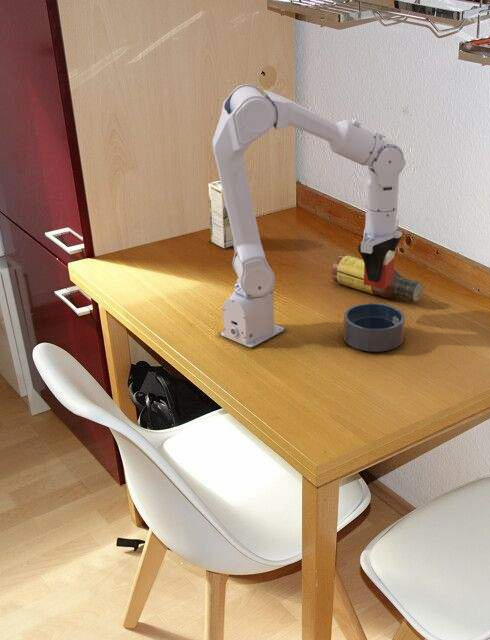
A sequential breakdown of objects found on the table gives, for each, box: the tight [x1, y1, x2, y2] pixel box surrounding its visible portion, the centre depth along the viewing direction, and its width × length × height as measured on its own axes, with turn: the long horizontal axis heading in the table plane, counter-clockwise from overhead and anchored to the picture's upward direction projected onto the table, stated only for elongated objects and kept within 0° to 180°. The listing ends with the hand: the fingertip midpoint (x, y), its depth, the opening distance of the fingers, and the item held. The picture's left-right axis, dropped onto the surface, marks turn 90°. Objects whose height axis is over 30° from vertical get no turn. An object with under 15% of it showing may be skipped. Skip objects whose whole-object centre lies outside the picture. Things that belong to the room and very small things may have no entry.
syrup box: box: [207, 180, 234, 250], centre depth 192 cm, size 6×6×14 cm
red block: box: [364, 250, 396, 289], centre depth 157 cm, size 4×4×6 cm
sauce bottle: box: [330, 254, 424, 302], centre depth 172 cm, size 7×6×20 cm
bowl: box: [342, 302, 406, 353], centre depth 154 cm, size 11×11×5 cm
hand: (378, 275), depth 158 cm, fingers closed on red block, 4 cm apart
